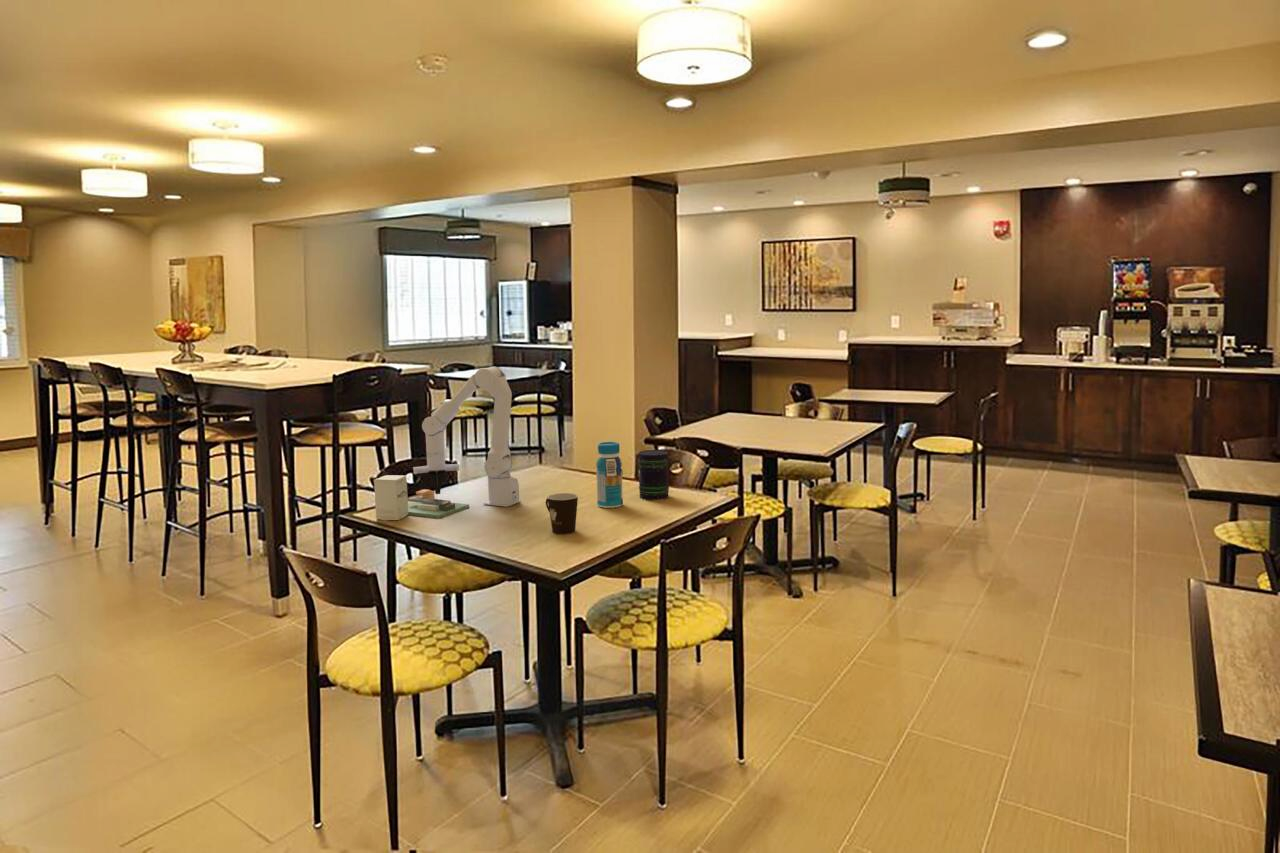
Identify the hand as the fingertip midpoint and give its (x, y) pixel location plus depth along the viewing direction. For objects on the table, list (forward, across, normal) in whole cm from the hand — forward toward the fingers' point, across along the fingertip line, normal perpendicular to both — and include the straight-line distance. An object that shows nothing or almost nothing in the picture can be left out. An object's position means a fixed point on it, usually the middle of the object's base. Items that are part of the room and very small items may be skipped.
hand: (437, 493), depth 280 cm
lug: (+2, -4, -5) cm, 6 cm away
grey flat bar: (0, -4, -12) cm, 12 cm away
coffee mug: (+3, +30, -51) cm, 59 cm away
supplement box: (+3, -15, -17) cm, 23 cm away
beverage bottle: (+3, +51, -28) cm, 58 cm away
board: (+3, -3, -12) cm, 13 cm away
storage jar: (+3, +68, -22) cm, 71 cm away
